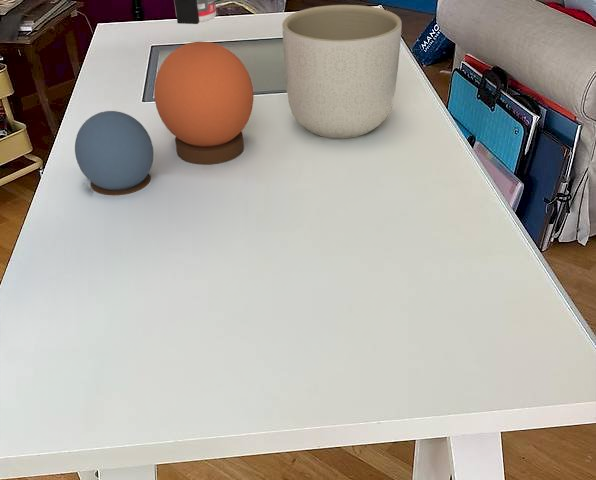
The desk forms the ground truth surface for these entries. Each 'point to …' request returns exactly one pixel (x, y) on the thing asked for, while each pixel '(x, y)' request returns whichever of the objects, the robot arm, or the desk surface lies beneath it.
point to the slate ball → (114, 153)
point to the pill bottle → (205, 10)
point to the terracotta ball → (204, 101)
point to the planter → (341, 67)
